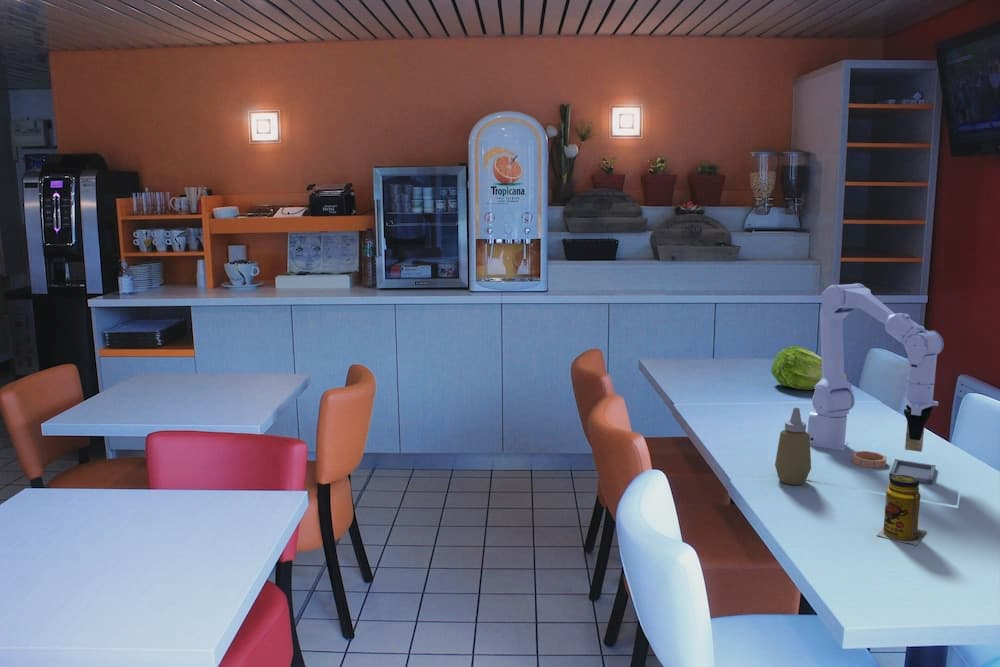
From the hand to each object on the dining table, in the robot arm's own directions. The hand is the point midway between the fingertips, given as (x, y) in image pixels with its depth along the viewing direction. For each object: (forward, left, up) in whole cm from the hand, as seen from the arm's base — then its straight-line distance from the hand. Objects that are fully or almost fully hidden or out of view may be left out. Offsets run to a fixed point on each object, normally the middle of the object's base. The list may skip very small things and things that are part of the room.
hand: (915, 437), depth 190 cm
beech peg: (0, 0, -3) cm, 3 cm away
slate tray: (0, 0, -10) cm, 10 cm away
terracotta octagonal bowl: (-10, +3, -10) cm, 14 cm away
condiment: (+1, -38, -10) cm, 39 cm away
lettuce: (-39, +78, -10) cm, 88 cm away
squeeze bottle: (-24, -19, -10) cm, 32 cm away
